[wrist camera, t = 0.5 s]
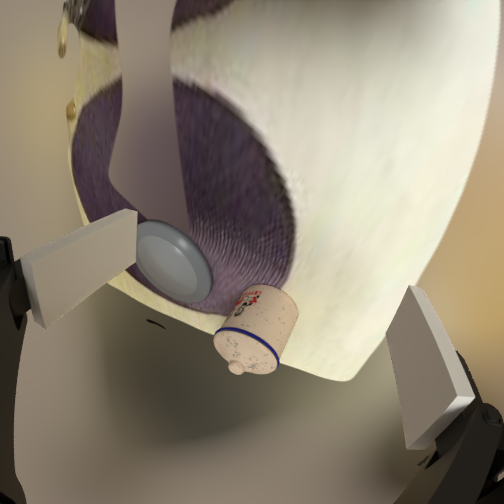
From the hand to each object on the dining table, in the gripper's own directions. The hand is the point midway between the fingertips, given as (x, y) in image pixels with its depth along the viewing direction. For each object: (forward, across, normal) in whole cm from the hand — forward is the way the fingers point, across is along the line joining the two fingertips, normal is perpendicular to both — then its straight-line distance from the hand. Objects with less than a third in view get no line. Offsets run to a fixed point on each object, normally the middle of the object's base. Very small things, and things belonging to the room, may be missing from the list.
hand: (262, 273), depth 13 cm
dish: (+26, -17, -16) cm, 36 cm away
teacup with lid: (+25, -1, -18) cm, 31 cm away
